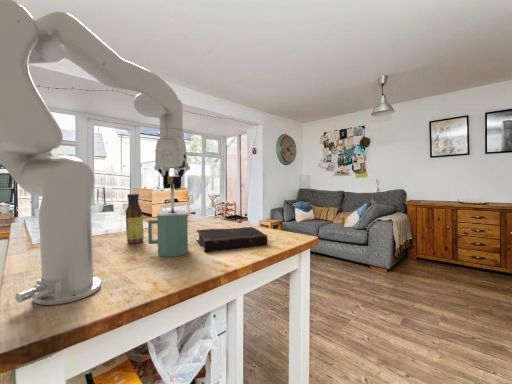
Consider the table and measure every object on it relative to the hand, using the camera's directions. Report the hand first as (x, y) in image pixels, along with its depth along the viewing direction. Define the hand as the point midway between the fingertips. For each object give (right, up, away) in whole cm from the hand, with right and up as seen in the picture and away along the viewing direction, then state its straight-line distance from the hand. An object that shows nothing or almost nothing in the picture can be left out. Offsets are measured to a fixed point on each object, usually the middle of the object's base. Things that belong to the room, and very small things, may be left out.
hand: (172, 187), depth 87 cm
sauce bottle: (-20, -22, +15) cm, 34 cm away
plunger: (0, -11, +1) cm, 11 cm away
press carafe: (-2, -23, +1) cm, 23 cm away
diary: (+19, -23, +15) cm, 33 cm away
